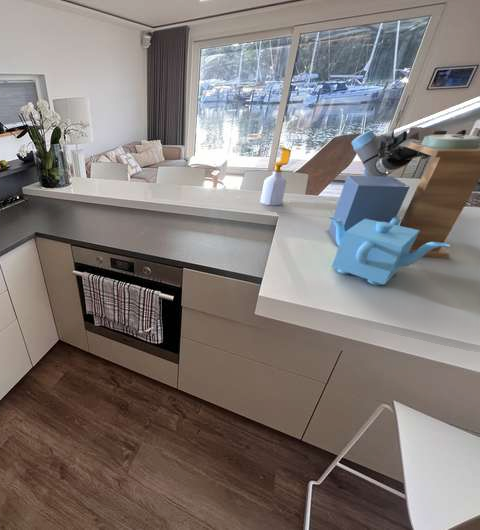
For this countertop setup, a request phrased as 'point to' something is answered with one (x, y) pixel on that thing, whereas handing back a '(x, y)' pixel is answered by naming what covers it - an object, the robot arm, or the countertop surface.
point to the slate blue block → (368, 200)
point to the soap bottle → (275, 182)
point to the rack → (441, 194)
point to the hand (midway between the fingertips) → (433, 135)
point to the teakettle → (377, 249)
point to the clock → (442, 138)
